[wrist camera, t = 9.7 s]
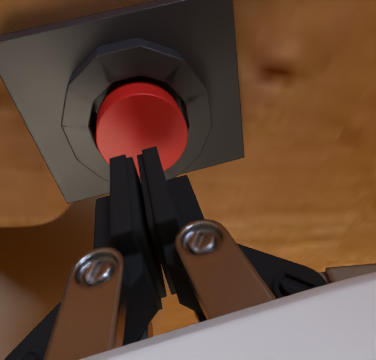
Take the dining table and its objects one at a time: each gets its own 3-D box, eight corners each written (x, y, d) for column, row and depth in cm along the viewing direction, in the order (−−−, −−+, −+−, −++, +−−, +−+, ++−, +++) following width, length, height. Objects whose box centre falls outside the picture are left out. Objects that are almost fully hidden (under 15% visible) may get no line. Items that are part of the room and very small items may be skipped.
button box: (218, -14, 16) (246, -9, 13) (233, 141, 21) (255, 173, 18) (-2, 35, 15) (-33, 54, 12) (70, 183, 20) (63, 224, 17)
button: (171, 71, 14) (178, 83, 13) (187, 147, 16) (194, 164, 15) (84, 92, 14) (81, 107, 12) (112, 166, 16) (112, 186, 15)
